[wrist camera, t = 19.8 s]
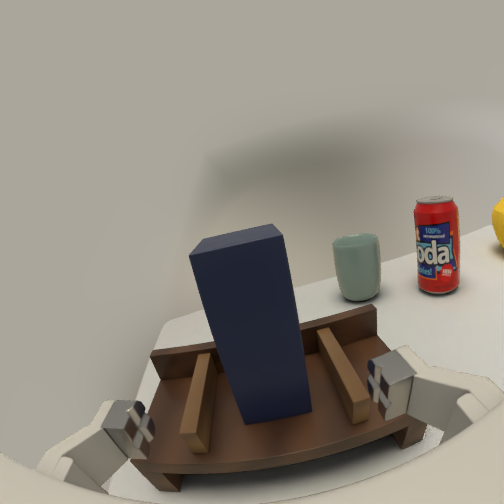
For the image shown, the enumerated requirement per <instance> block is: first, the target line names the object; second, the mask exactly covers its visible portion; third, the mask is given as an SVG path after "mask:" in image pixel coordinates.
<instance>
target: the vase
mask: <svg viewBox="0 0 504 504" xmlns="http://www.w3.org/2000/svg"><path fill="white" fill-rule="evenodd" d="M492 223H493V227H494V230H495V233H496V236H497V239H498V240H499V242H500V244H501V245H502V247H503V248H504V197H503V198H502V199H501V200H500V201H499V202H498V203H497V204H496V205H495V206H494V209H493V212H492Z"/></svg>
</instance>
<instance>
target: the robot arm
mask: <svg viewBox="0 0 504 504" xmlns="http://www.w3.org/2000/svg"><path fill="white" fill-rule="evenodd" d="M367 369H368V371H369V372H370V374H369V376H368V377H367V387H368V392H369V394H370V397H371V399H372V400H373V401H374V402H376V403H378V411H379V412H380V414H381V416H382V418H383V419H384V421H388V420H390V419H393V418H395V417H398V416H400V415H402V414H405V413H407V414H408V415H410V416H412V417H414V418H416V419H418V420H420V421H422V422H425V423H427V424H429V425H431V426H433V427H435V428H438V429H440V430H442V431H444V435H443V437H442V439H441V441H440V444H439V446H437V447H435V448H433V449H432V450H430V451H428V452H426V453H424V454H422V455H420V456H418V457H416V458H414V459H412V460H410V461H408V462H406V463H404V464H402V465H400V466H397V467H395V468H393V469H391V470H388V471H386V472H383V473H381V474H378V475H376V476H373V477H370V478H368V479H365V480H362V481H359V482H356V483H353V484H350V485H347V486H344V487H340V488H337V489H333V490H330V491H326V492H322V493H318V494H314V495H309V496H305V497H300V498H294V499H289V500H283V501H276V502H269V503H261V504H504V392H503V391H502V390H501V389H500V388H499V387H498V386H496V385H495V384H494V383H493V382H492V381H491V380H490V379H489V378H487V377H482V376H476V375H471V374H467V373H462V372H457V371H453V370H448V369H444V368H439V367H435V366H433V367H431V368H430V367H429V366H428V365H427V364H426V363H425V362H424V361H423V360H422V359H421V358H420V357H419V356H418V355H417V354H416V353H415V352H414V351H413V350H412V349H411V348H410V347H409V346H408V345H404V346H402V347H399V348H397V349H395V350H393V351H390V352H388V353H385V354H382V355H380V356H377V357H374V358H372V359H369V360H368V363H367ZM154 436H155V425H154V422H153V420H152V418H151V416H149V415H148V414H146V413H145V407H144V405H143V404H142V402H140V401H125V400H117V401H116V400H106V401H104V402H103V404H102V405H101V407H100V409H99V411H98V412H97V414H96V416H95V418H94V419H93V421H92V423H91V424H90V426H86V427H84V428H83V429H81V430H80V431H78V432H76V433H75V434H73V435H72V436H70V437H68V438H67V439H65V440H63V441H62V442H60V443H58V444H57V445H55V446H53V447H52V448H50V449H48V450H47V451H46V453H45V454H44V456H43V458H42V459H41V461H40V463H39V464H38V466H37V468H36V470H34V469H32V468H30V467H27V466H26V465H23V464H21V463H19V462H17V461H15V460H14V459H12V458H10V457H8V456H6V455H4V454H2V453H1V452H0V504H159V503H151V502H144V501H138V500H132V499H126V498H121V497H116V496H112V495H109V494H108V492H107V491H105V490H104V489H103V488H102V487H101V485H102V484H104V483H105V481H107V480H108V479H109V478H110V477H111V476H112V475H113V474H114V473H115V472H116V471H117V470H118V469H119V468H120V467H121V466H122V465H123V464H124V463H125V462H126V461H127V460H128V458H131V459H148V455H149V452H150V449H151V446H150V444H149V442H150V441H151V440H152V439H154Z"/></svg>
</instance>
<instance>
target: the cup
mask: <svg viewBox="0 0 504 504" xmlns="http://www.w3.org/2000/svg"><path fill="white" fill-rule="evenodd" d="M332 248H333V255H334V263H335V269H336V275H337V280H338V284H339V287H340V290H341V292H342V294H343V295H344V296H345V297H346V298H347V299H349V300H352V301H364V300H368V299H370V298H372V297H373V296H375V295H376V293H377V292H378V290H379V287H380V281H381V260H380V250H379V241H378V237H377V236H376V235H374V234H354V235H348V236H343V237H340V238H337V239H336V240H334V241H333V243H332Z"/></svg>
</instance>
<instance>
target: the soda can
mask: <svg viewBox="0 0 504 504" xmlns="http://www.w3.org/2000/svg"><path fill="white" fill-rule="evenodd" d="M416 202H417V205H416V207H415V209H414V219H415V231H416V244H417V266H418V285H419V287H420V288H421V289H422V290H424V291H426V292H428V293H431V294H445V293H448V292H450V291H452V290H454V289H455V288H456V287H457V286H458V285H459V276H460V231H459V214H458V208H457V206H456V205H455V203H454V201H453V197H450V196H434V197H425V198H420V199H417V200H416Z"/></svg>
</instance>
